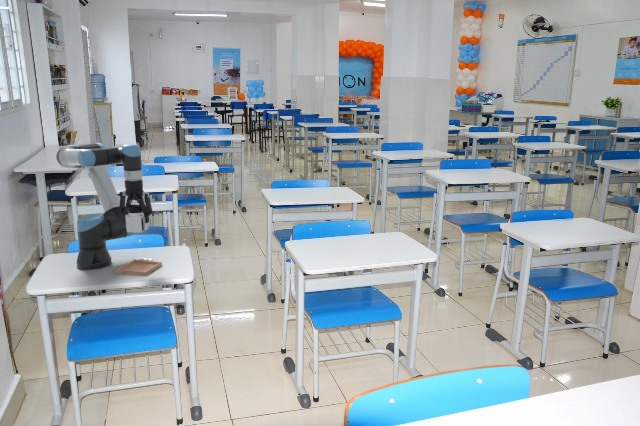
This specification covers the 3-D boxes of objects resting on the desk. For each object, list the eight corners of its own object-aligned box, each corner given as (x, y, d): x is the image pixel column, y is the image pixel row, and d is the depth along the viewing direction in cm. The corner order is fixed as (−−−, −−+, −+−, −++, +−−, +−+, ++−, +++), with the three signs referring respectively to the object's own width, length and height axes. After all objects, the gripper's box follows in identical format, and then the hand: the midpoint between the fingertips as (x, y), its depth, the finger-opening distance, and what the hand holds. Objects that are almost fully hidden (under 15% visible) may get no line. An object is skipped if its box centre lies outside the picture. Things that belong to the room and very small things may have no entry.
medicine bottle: (142, 232, 234) (140, 206, 231) (126, 232, 234) (124, 206, 231) (147, 228, 241) (146, 203, 238) (132, 228, 241) (130, 202, 238)
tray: (117, 272, 236) (116, 269, 236) (134, 262, 250) (134, 259, 249) (145, 275, 233) (145, 272, 233) (161, 265, 247) (161, 261, 246)
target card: (135, 262, 250) (135, 260, 250) (141, 258, 255) (141, 257, 255) (147, 263, 249) (147, 261, 249) (152, 259, 254) (152, 258, 254)
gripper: (107, 179, 230) (111, 229, 236) (150, 182, 226) (154, 232, 232) (117, 176, 237) (121, 225, 243) (159, 179, 233) (162, 228, 239)
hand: (137, 228), depth 237 cm, fingers closed on medicine bottle, 8 cm apart
